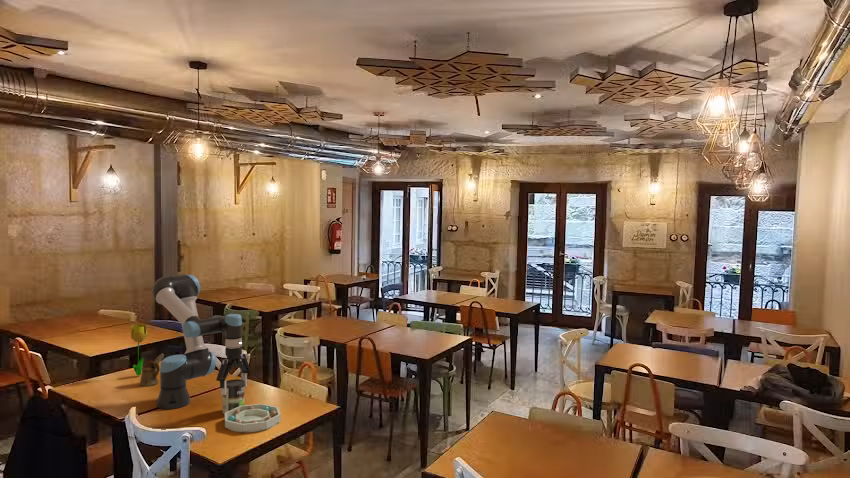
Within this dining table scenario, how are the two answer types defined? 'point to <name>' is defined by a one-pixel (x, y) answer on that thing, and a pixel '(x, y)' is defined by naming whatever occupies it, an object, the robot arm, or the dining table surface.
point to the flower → (138, 336)
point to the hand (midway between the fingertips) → (234, 390)
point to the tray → (252, 418)
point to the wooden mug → (151, 372)
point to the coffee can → (233, 395)
